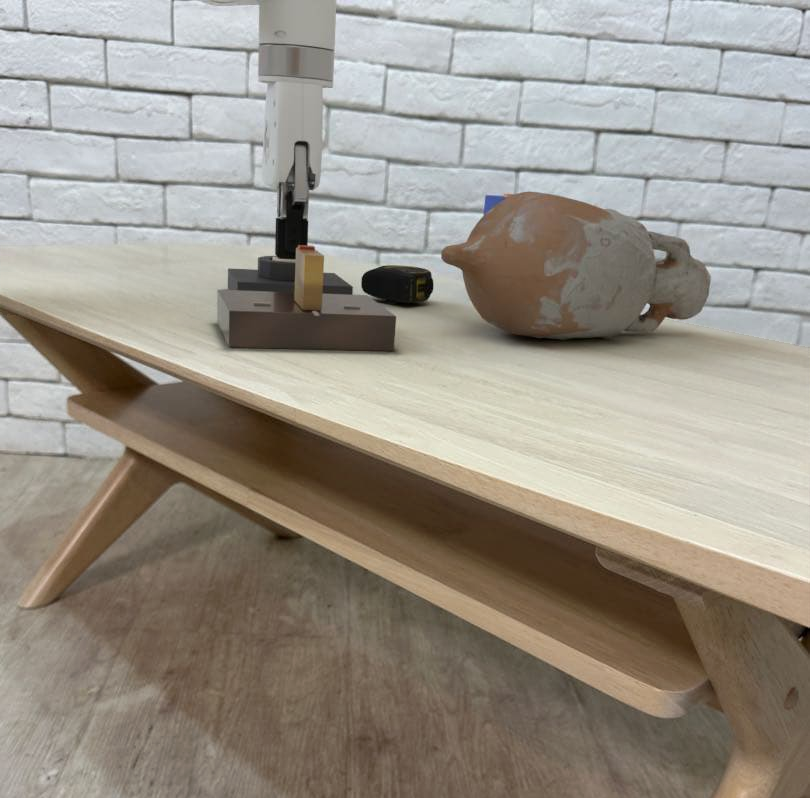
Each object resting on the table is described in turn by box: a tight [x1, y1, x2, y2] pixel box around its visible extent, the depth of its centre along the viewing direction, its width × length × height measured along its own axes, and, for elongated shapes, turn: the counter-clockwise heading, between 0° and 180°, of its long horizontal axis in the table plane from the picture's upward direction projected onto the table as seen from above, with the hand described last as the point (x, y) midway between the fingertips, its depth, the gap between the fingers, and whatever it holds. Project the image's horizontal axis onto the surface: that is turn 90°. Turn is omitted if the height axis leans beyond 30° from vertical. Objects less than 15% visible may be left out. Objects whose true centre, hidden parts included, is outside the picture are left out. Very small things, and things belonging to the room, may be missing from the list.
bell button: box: [272, 255, 296, 263], centre depth 107 cm, size 4×4×2 cm
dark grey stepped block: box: [227, 255, 354, 295], centre depth 107 cm, size 12×10×4 cm
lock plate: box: [216, 289, 397, 352], centre depth 87 cm, size 14×12×3 cm
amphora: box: [440, 191, 712, 341], centre depth 96 cm, size 14×16×30 cm
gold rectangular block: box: [294, 244, 325, 311], centre depth 84 cm, size 5×2×5 cm, turn 14°
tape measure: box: [360, 264, 434, 305], centre depth 110 cm, size 7×7×4 cm
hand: (291, 257), depth 106 cm, fingers closed
